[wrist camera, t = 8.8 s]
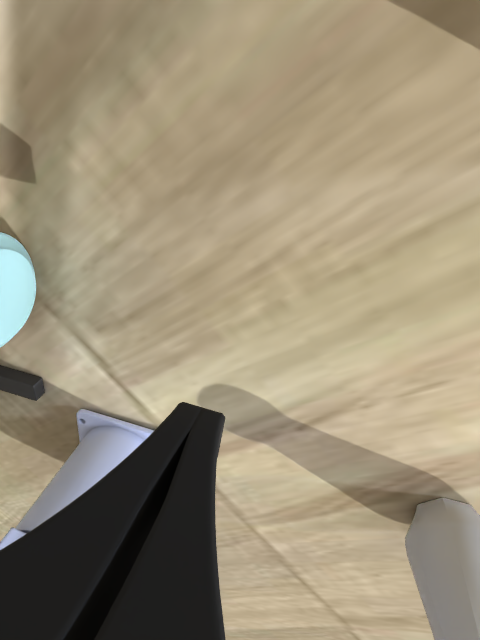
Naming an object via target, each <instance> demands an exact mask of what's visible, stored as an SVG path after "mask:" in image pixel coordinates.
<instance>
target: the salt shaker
mask: <svg viewBox="0 0 480 640" xmlns="http://www.w3.org/2000/svg"><path fill="white" fill-rule="evenodd" d="M405 546H406V551H407V556H408V559H409V563H410V566H411V569H412V572H413V575H414V578H415V581H416V584H417V587H418V590H419V593H420V596H421V599H422V602H423V605H424V608H425V611H426V614H427V618H428V621H429V624H430V627H431V630H432V633H433V636H434V639H435V640H480V515H479V514H478V513H477V512H476V510H475V509H474V508H473V507H472V506H471V505H469V504H466V503H462V502H458V501H454V500H451V499H447V498H443V497H442V498H439V499H435V500H432V501H428V502H425V503H421V504H418V505H417V508H416V513H415V515H414V518H413V520H412V523H411V525H410V527H409V530H408V532H407V535H406V537H405Z"/></svg>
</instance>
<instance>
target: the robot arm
mask: <svg viewBox="0 0 480 640" xmlns="http://www.w3.org/2000/svg"><path fill="white" fill-rule="evenodd" d="M76 416H77V424H78V432H79V440H80V444H79V445H78V446H77V447H76V449H75V450H74V451H73V453H72V454H71V455H70V457H69V458H68V459H67V461H66V462H65V463H64V465H63V466H62V467H61V468H60V470H59V471H58V472H57V474H56V475H55V476H54V478H53V479H52V480H51V482H50V483H49V484H48V486H47V487H46V488H45V489H44V491H43V492H42V493H41V495H40V496H39V497H38V499H37V500H36V501H35V503H34V504H33V505H32V507H31V508H30V509H29V510H28V512H27V513H26V514H25V516H24V517H23V518H22V520H21V521H20V522H19V524H18V525H17V526H16V528H11V529H10V530H9V531H8V533H7V534H6V535H5V537H4V538H3V539H2V541H1V542H0V640H225V632H224V623H223V615H222V606H221V598H220V589H219V577H218V565H217V550H216V529H215V482H216V463H217V457H218V453H219V447H220V442H221V437H222V432H223V427H224V422H225V416H224V415H223V414H222V413H219V412H216V411H212V410H209V409H205V408H202V407H199V406H195V405H192V404H188V403H185V402H182V403H179V404H178V406H177V407H176V408H175V409H174V410H173V411H172V413H171V414H170V415H169V416H168V417H167V418H166V419H165V420H164V421H163V422H162V423H161V424H160V426H159V427H158V428H157V429H156V430H155V431H154V430H151V429H148V428H144V427H141V426H138V425H135V424H131V423H128V422H125V421H122V420H118V419H115V418H112V417H109V416H105V415H102V414H99V413H95V412H92V411H89V410H86V409H80V410H79V411H78V412H77V413H76Z"/></svg>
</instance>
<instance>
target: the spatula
mask: <svg viewBox="0 0 480 640" xmlns="http://www.w3.org/2000/svg"><path fill="white" fill-rule="evenodd" d="M0 390H2V391H6V392H9V393H12V394H15V395H19V396H22V397H25V398H28V399H31V400H35V401H37V400H38V399H39V398H40V397H41V396H42V395H43V394H44V393H45V391H44V386H43V380H42V378H40V377H37V376H34V375H31V374H27V373H24V372H21V371H17V370H14V369H11V368H7V367H4V366H1V365H0Z"/></svg>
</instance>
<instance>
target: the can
mask: <svg viewBox="0 0 480 640" xmlns="http://www.w3.org/2000/svg"><path fill="white" fill-rule="evenodd" d="M35 296H36V279H35V272H34V268H33V264H32V261H31V259H30V256H29V254H28V252H27V251H26V249H25V248H24V247H23V246H22V244H21V243H20V242H19V241H17V240H16V239H15V238H13V237H11V236H10V235H7V234H5V233H1V232H0V347H2V346H3V345H5V344H6V343H7V342H8V341H9V340H11V339H12V338H13V337H14V336H15V334H17V333H18V331H19V330H20V329H21V328H22V327H23V325H24V324H25V322H26V321H27V319H28V317H29V315H30V313H31V311H32V308H33V305H34V301H35Z"/></svg>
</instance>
